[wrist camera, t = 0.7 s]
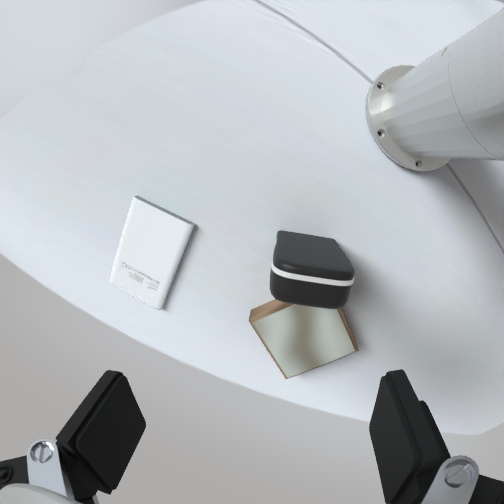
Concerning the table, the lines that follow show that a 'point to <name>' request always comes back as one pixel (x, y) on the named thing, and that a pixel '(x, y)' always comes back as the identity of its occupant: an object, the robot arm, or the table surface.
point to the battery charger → (310, 271)
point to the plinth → (302, 335)
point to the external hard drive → (149, 252)
